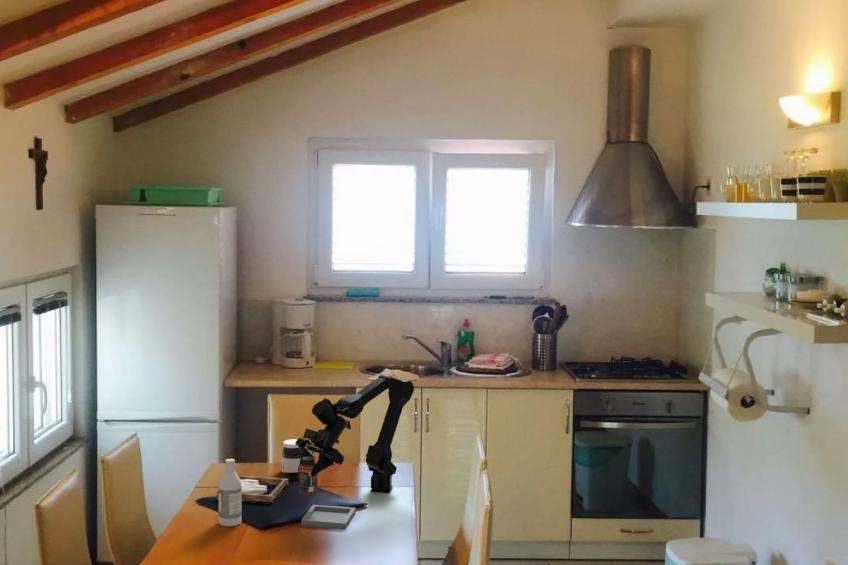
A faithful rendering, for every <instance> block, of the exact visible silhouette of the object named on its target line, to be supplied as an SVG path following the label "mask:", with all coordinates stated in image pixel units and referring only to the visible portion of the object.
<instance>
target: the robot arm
mask: <svg viewBox="0 0 848 565" xmlns="http://www.w3.org/2000/svg"><path fill="white" fill-rule="evenodd" d="M387 389H388V392H387V394H388V395H387V396H388V399H389V403H388V407H387V409H386V413H385V416H384V419H383V422H382V425H381V428H380V431H379V434H378V438H377V440H376V442H375V443H374V444H373V445H372V444H370V445H369V446H368V448H367V452H366V454H365V457H366V458H365V463H366V465H367V469H368V471H369V472H372V475H371V476H370V489H371V490H370V492H371V493H386V494H387V493H388V494H389V493H391V491H392V489H393V485H392V484H393V482H392V481H393V480H392V479H393V477H392V476H393V475H394V474H396V472H397V466H396V465H395V464H394V463H393V462H392V458H393V453H392V448H391V446H392V442H393V440H394V437H395V433H396V430H397V427H398V424H399V421H400V417H401V415H402V414H401V413H402V412H403V408H404V406H405V405H406V404H407V403H408V402H410V400H411V398H412V396H413V394H414V392H415V386H414V383H413V382H412V381H411V380H407V379H402V378H398V377H396V378H395V377H393V376H391V375H388V374H380V375H379V376H378V377H377V378H376V379H374V380H373V381H372V382H370V383H369V384H368V385H366V386H365V387H364V388H362V389H360V390H359V391H358V392H356V393H353V394H349V395H346V396H343V397H342V398H339V399H338V400H337V402H335V403H332V402H331V400H330V399H329V398H325V397H324V398H323V400H320V401H318V402H317V403H315V404H314V405H313V406H312V408H311V413H312V415H313V416H314V417H315V418H316V419H317V420H318V421H319V422H320V423H321V424H322V425H325V426H324V428H323V429H321V428H320V429H318V430H317V431H316V430H313V429H310V428H305V430H304V433H303V435H302V437H299V438H297V439H296V440H297V441H296V443H295V444H296V445H297V446H298V447H299V448H300V449H301V453H302V454H301V459H300V463H299V466H300V465H301V464H302V458H303V457H307V456H311V457H314V458H315V456H314V453H317V454H318V460H317V461H316V462H315V466H314V468H313V470H312V472H311V474H310V475H311V476H314V475H316V474H317V473H318V474H319V473H321V472H322V471H324V470H325V469H328V468H329V467H331V466H335V464H336V465H339V466H342V464H343V463H344V461H345V456H344V454H342V453H341V452H340V450H338V449H337V448H334V446H335V445H339V443H340V440H339V438H340V437H341V435H342V434H343V432H344V431H345V429H347V430H351V429H352V426H351V420H347V418H348V419H352V420H353V419H356V418H357V417H358V416H359V415H361V413H362V412H363V410H364V408H365V406H366V405H367V404H368V403H369V402H371V401H373V400H374V399H375V398H377V397H378V396H380V395H381V394H382V393H384V392H385V391H386V390H387ZM345 418H346V419H345ZM298 471H299V467H298Z"/></svg>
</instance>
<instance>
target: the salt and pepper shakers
mask: <svg viewBox="0 0 848 565" xmlns="http://www.w3.org/2000/svg"><path fill="white" fill-rule="evenodd" d="M240 480H241V484H242V493H249V494H263V495H264V493H266V492H268V489H267V488H268V486H267V485H259V481H258V480H250V479H244V480H242V479H240Z"/></svg>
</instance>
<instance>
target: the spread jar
mask: <svg viewBox="0 0 848 565" xmlns="http://www.w3.org/2000/svg"><path fill="white" fill-rule="evenodd" d="M297 440H298V439H297V438H296V439H294V438H293V439H286V440H284V441H283V442H282V443H283V447H282V450H281V472H282V474H283V475H284V476H287V477H297V476H298V477H299V471H298V467H299V463H300V459H301V454H302V453H301V449H300V448H299V447H298V446H297V445H296V444H295V443H296V441H297Z"/></svg>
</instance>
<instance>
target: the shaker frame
mask: <svg viewBox="0 0 848 565" xmlns="http://www.w3.org/2000/svg"><path fill="white" fill-rule="evenodd" d="M238 476H239V478H240V479H242V480H244V479H250V480H258V481H259V485H263V486H267V485H268V486H270V485H271V487H273V486H272V485H278V486H275V488H274V489H273V490H271V492H270V493H269V494H264V493H263V494H249V493H242V502H243V501H263V502H273V503H274V501H275V500H276V499H277V497H278V496H279V495H280V494H281V493H282V492H283V491H282V489H283V488H284V487H285V486H286V485H288V486H289V478H281V477H279V478H278V477H266V476H265V477H264V476H252V475H249V476H248V475H238ZM268 486H267V487H268ZM281 491H282V492H281ZM280 492H281V493H280ZM279 493H280V494H279ZM278 494H279V495H278ZM277 495H278V496H277ZM276 496H277V497H276ZM275 498H276V499H275ZM274 499H275V500H274ZM216 500H218V501H219V490H218V491H217V492H216ZM273 500H274V501H273Z"/></svg>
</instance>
